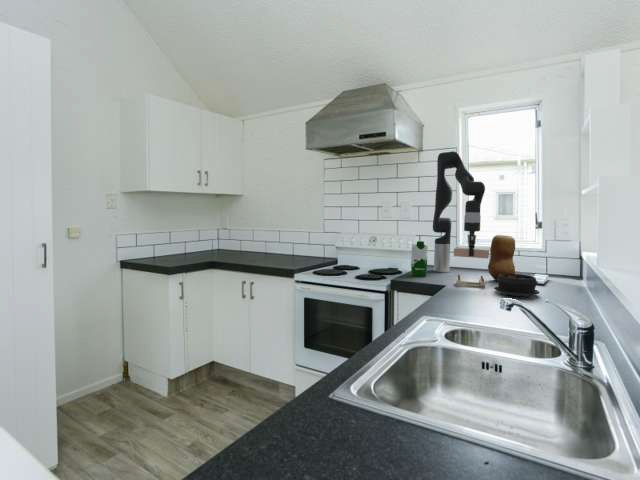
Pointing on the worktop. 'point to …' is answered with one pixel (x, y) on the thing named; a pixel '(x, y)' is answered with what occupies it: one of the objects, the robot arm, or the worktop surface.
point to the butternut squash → (501, 256)
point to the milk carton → (419, 259)
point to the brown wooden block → (477, 253)
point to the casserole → (517, 285)
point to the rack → (479, 284)
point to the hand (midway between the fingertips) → (471, 255)
